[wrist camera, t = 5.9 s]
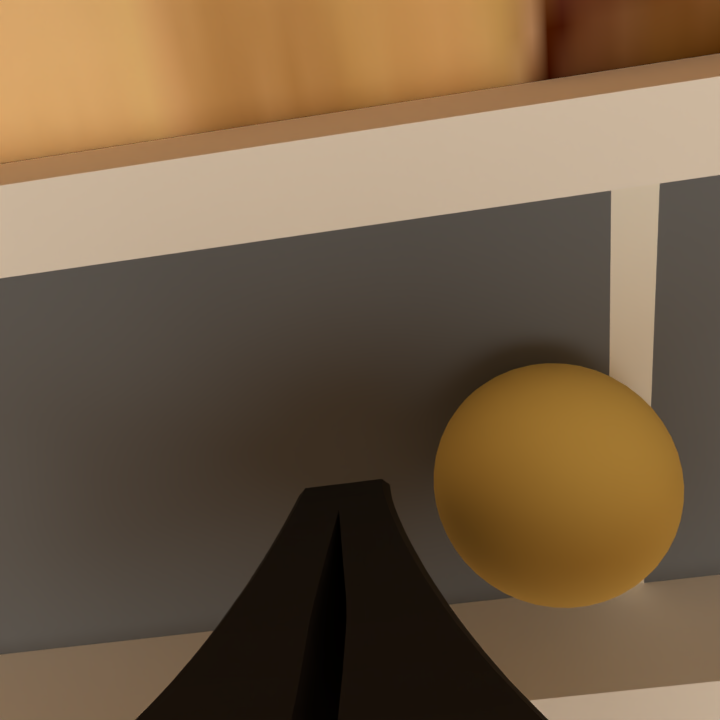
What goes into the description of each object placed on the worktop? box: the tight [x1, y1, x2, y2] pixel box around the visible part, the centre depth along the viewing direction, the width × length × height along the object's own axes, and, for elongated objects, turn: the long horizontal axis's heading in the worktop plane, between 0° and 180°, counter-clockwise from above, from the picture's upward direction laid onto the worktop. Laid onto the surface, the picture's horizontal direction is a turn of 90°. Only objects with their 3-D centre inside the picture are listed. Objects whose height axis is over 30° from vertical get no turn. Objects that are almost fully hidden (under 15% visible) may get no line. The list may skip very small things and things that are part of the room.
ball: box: [434, 363, 684, 608], centre depth 12 cm, size 4×4×4 cm
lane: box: [0, 53, 720, 720], centre depth 12 cm, size 12×26×3 cm, turn 98°
